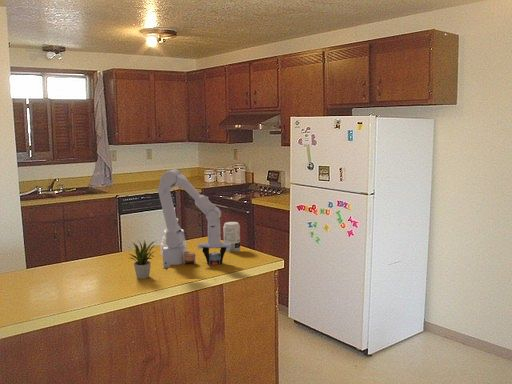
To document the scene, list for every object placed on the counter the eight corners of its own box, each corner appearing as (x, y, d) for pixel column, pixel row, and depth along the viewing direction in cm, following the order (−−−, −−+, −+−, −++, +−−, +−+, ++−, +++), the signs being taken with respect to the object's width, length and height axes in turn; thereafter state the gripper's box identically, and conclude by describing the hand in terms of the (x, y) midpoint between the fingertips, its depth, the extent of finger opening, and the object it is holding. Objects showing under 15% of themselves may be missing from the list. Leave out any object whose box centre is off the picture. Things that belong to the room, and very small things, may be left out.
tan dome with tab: (183, 268, 221) (183, 255, 220) (185, 265, 226) (185, 252, 225) (194, 268, 221) (194, 255, 220) (196, 265, 226) (195, 252, 225)
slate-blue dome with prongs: (208, 268, 221) (208, 255, 220) (210, 265, 226) (209, 252, 225) (219, 268, 220) (219, 255, 220) (221, 265, 225) (220, 252, 225)
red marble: (211, 267, 222) (211, 261, 221) (212, 265, 225) (211, 259, 224) (217, 267, 222) (217, 261, 221) (218, 265, 224) (218, 259, 224)
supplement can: (221, 251, 249) (221, 222, 246) (236, 249, 252) (236, 220, 250) (227, 255, 241) (226, 225, 239) (242, 253, 245) (242, 223, 242)
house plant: (168, 273, 215) (167, 236, 212) (153, 283, 202) (152, 244, 199) (139, 270, 219) (137, 234, 216) (122, 280, 205) (120, 242, 203)
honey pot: (192, 252, 247) (191, 217, 245) (175, 258, 237) (173, 222, 234) (173, 249, 254) (171, 214, 252) (155, 254, 243) (154, 219, 241)
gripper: (196, 236, 217) (197, 266, 219) (229, 236, 217) (230, 266, 219) (199, 233, 224) (199, 261, 226) (230, 232, 224) (231, 261, 226)
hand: (214, 263), depth 223 cm, fingers open, 5 cm apart
